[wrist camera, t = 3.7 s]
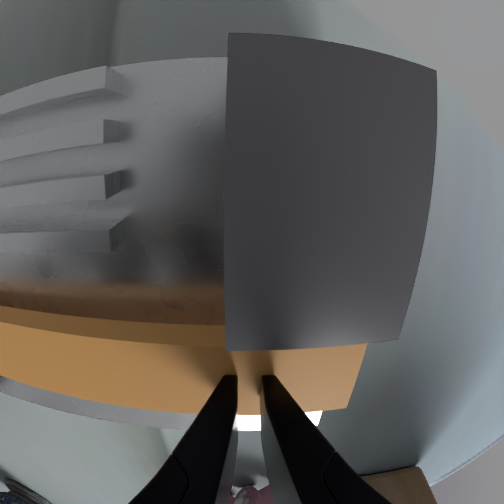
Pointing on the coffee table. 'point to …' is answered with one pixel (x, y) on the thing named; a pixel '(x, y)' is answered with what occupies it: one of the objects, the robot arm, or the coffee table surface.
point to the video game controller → (252, 496)
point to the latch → (323, 191)
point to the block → (402, 486)
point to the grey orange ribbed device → (116, 206)
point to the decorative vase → (20, 495)
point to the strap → (163, 363)
